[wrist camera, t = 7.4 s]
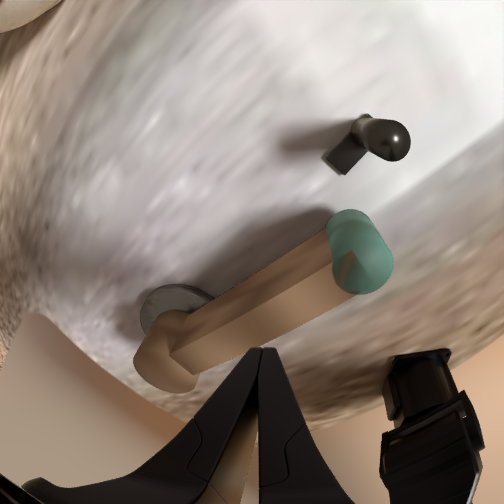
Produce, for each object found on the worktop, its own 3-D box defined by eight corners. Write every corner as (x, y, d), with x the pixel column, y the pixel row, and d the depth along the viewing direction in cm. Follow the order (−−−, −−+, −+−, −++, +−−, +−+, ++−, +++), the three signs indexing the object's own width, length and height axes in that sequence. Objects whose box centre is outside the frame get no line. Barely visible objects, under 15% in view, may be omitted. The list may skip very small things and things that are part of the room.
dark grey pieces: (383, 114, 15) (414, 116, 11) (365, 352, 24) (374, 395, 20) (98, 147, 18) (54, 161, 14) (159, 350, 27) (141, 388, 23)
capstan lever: (183, 360, 25) (168, 398, 21) (143, 325, 24) (122, 361, 20) (387, 247, 18) (408, 285, 14) (348, 185, 16) (366, 210, 12)
